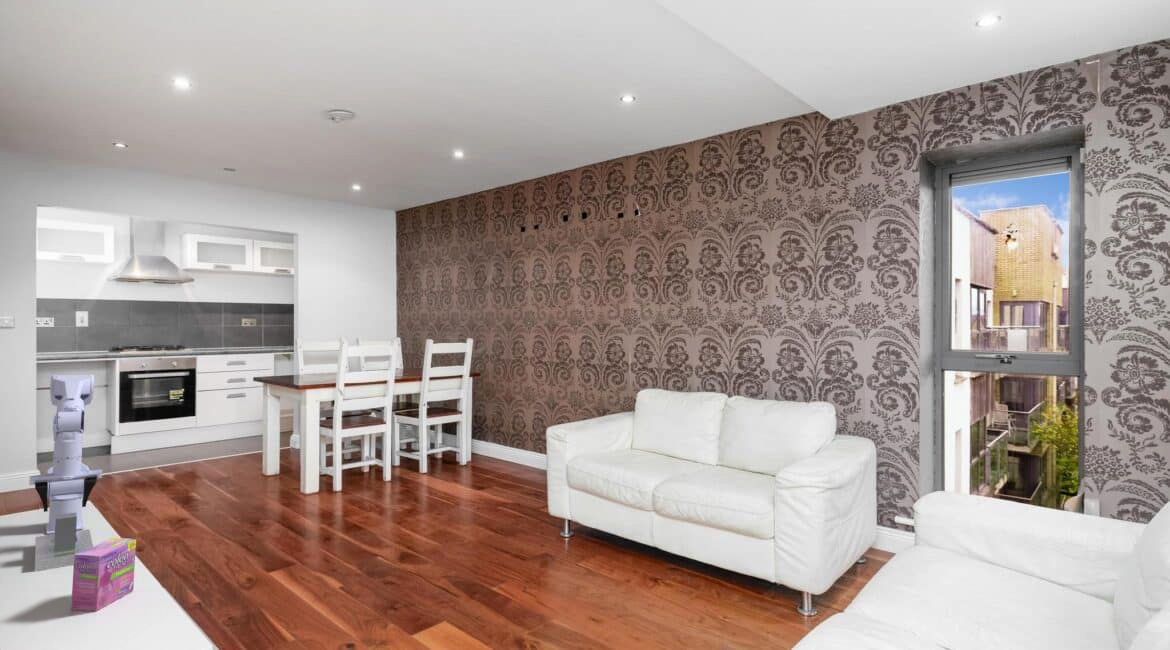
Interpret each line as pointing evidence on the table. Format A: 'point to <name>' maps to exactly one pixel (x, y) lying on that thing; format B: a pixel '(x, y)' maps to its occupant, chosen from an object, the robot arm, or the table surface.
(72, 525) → the grey rectangular block
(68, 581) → the table surface
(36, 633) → the table surface
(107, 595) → the box
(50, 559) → the plate
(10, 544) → the table surface
